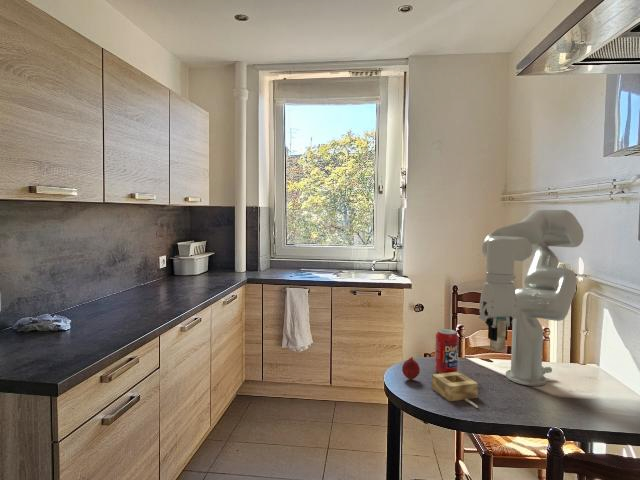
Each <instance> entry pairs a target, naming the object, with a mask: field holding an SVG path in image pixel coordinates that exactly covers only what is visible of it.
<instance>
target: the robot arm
mask: <svg viewBox="0 0 640 480" xmlns="http://www.w3.org/2000/svg"><path fill="white" fill-rule="evenodd" d="M584 237H585V234H584V229H583V227H582V225H581V223H580V222H579V221H578V219H577V218H576V216H575V214H573V213H572V212H571V211H568V210H566V209H539V210H534V211H532V212H531V213H530V214H528V215H527V216H526V217H525V218H523V219H522V220H521V221H519V222H516V223H513V224H509V225H507V226H506V225H505V226H502V227H500V228H496V229H495V230H493V231H491V232H490V233H489V234H488V235H486V237H485V238H484V240H483V242H482V245H481V250H482V254H483V255H484V257H486V272H485V273H486V274H485V276H486V277H485V282H483V285H482V287H481V293H480V300H479V316H478V319H480V320H481V321H483V322H484V323H485V325H486V326H487V339H488V340H490V339H491V340H493V341H497V328H496V321H497V317H506V338H505V341H508V330H509V329H508V327H510V325H512V329H511V330H512V331H511V333H512V334H511V352H510V353H511V356H510V357H511V358H510V369H508V370H507V371H505V377H506V379H508V380H509V381H511V382H513V383H515V384H520V385H524V386H533V387H538V386H539V387H540V386H544V385H546V384H547V378H546V377H545V376H544V375H545V374H550V373H552V372H553V369H552V367H551V366H545V367H544V366H543V342H544V341H543V340H544V329H543V327H542V324H541V323H540V321H539V320H538V319H541V320H542V319H543V320H548V321H554V322H555V321H556V322H560V321H561V322H562V321H563V320H565V319H566V317H567V316H568V314H569V311H570V308H571V304H572V301H573V299H574V296H575V293H576V290H577V283H578V279H577V275H576V273H575V272H574V271H573V270H572V269H570V268H565V267H559V265H560V261H559V258H558V257H557V255H556V253H555V252H554V251H553V250H552V249H550V248H549V247H555V248H556V247H558V248H559V247H560V248H578V247H579V246H580V245H582V243H583V241H584ZM531 255H532V259H531V262H530V264H529V265H528V269H527V270H526V273H525V276H524V280H523V284H524V287H519V288H518V287H517V288H516V287H515V286H516V285H515V283H514V280H515V279H516V275H515V274H514V272H515V271H514V270H515V262H524V261H526V260H528V259H530V257H531ZM491 319H492V321H491ZM511 323H512V324H511Z"/></svg>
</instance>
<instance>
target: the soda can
mask: <svg viewBox="0 0 640 480" xmlns="http://www.w3.org/2000/svg"><path fill="white" fill-rule="evenodd" d="M459 339H460V338H459V335H458V331H456V330H454V329H449V328H439V329H438V330H437V332H436V334H435V342H434V343H435V346H434V347H435V349H434V370H435V371H436V372H438V374H442V373H451V372H459V371H458V369H459V367H458V366H459V365H458V364H459V343H460V341H459Z"/></svg>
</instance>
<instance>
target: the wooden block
mask: <svg viewBox="0 0 640 480" xmlns="http://www.w3.org/2000/svg"><path fill="white" fill-rule="evenodd" d="M430 387H431V389H432V390H433V391H435V392H436V393H438V394H439V395H440V396H441V397H443V398H444V399H446V400H447V401H448V402H455V401H463V400H464V401H465V399H466V398H467V399H468V400H470V399H471V400H472V399H476V398H478V397H479V396H478V394H479V382H477V381H475V380H473V379H471V378H470V377H468V376H466V375H464V374H463V373H461V372H460V371H457V372H451V373H442V374H440V373H434V374H431V386H430Z"/></svg>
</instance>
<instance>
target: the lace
mask: <svg viewBox="0 0 640 480" xmlns="http://www.w3.org/2000/svg"><path fill="white" fill-rule="evenodd" d="M464 402H467V403H468V404H469V405H471V406H472V407H475V408H476V409H478V408H479V405H477V404H476V403H474V402H473V401H472V400H470V399H467V398H466V399H464Z"/></svg>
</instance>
